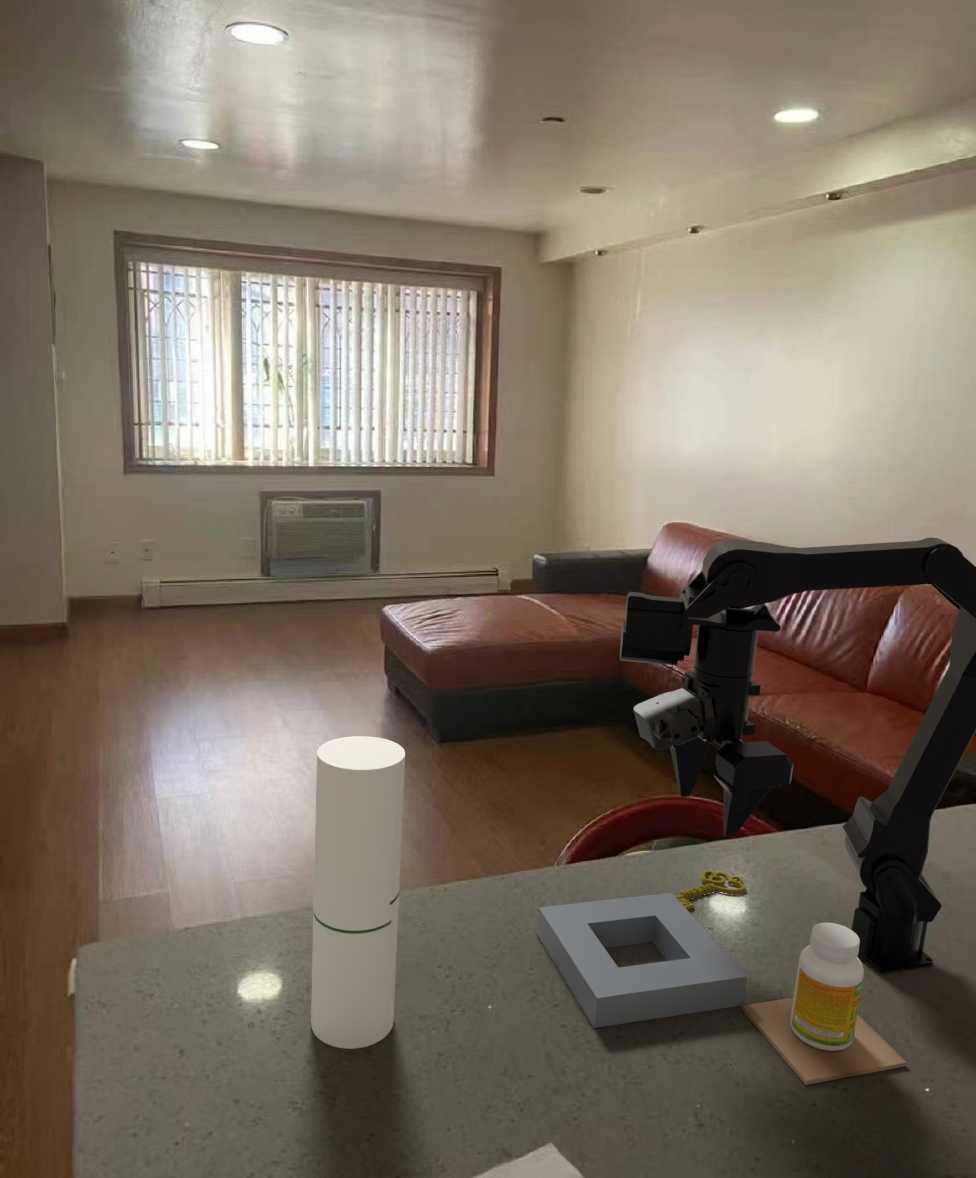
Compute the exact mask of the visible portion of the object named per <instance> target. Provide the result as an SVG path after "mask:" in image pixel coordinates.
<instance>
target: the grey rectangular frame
mask: <svg viewBox="0 0 976 1178" xmlns="http://www.w3.org/2000/svg"><path fill="white" fill-rule="evenodd" d="M675 896H676V895H674V894H673V892H666V893H664V892H663V893H657V894H649V895H640V896H630V897H629V896H628V897H619V898H612V899H602V900H593V901H584V902H576V903H575V902H574V903H568V904H567V903H566V904H565V903H564V904H557V905H550V906H549V905H548V906H540V907H538V912H537V925H536V935H537V937H538V939H539V940H540V941H541V943H542V945H543V947H544V948H545V949H546V952H547V953H548V955H549V956H550V958H551V959H552V961H553V963H554V965H555V966H556V968H557V970H558V971H559V973H560V974H561V976H562V978H563V979H564V981H565V983H566V985H567V986H568V988H569V989H570V991H571V992H572V994H573V996H574V997H575V999H576V1001H577V1002H578V1004H579V1006H580V1007H581V1009H582V1011H583V1012H584V1014H585V1016H586V1017H587V1019H588V1021H589V1022H590V1024H591V1025H592V1027H593V1028H594V1029H598V1028H602V1027H610V1026H617V1025H623V1024H629V1023H636V1022H643V1021H649V1020H654V1019H655V1020H656V1019H662V1018H668V1017H674V1016H675V1017H676V1016H681V1015H682V1016H683V1015H688V1014H696V1013H700V1012H709V1011H713V1010H715V1011H716V1010H719V1009H727V1008H733V1007H739V1006H740V1007H742V1005H745V1004H744V1002H745V997H746V988H747V979H748V976H747V975H746V974H745V973H744V971H743V970H742V969H741V968H740V967H739V966H738V965H737V964H736V962H735V961H734V960H733V959H732V958H731V957H730V956H729V955H728V954H727V953H726V951H725V950H724V949H723V948H722V947H721V946H720V945H719V944H718V943H717V942H716V941H715V939H714V938H713V937H712V936H711V935H710V934H709V932H707V931H706V929H705V928H704V927H703V926H702V925H701V924H700V922H698V921H697V920H696V918H695V917H694V916H693V915H692V913H691V912H690V911H689V910H687V909H686V908H685V907H684V906H683V905H682V904H681V903H680V902H679V900H678V899H677V898H676V897H675ZM646 943H653V944H654V946H655V947H656V948H657V949H658V951H659V952H660V953H661V954H662V955H663V957H664V959H666V961H665V960H664V961H659V962H658V961H657V962H651V963H644V964H643V963H642V964H637V965H627V966H620V967H619V966H618V965H617V964H616V962H615V961H614V959H613V958H612V957H611V955H610V954H609V952H608V951H607V950H606V948H614V947H621V946H623V947H624V946H630V945H638V944H646Z"/></svg>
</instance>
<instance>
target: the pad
mask: <svg viewBox="0 0 976 1178" xmlns="http://www.w3.org/2000/svg"><path fill="white" fill-rule="evenodd" d="M792 1003H793V997H788V998H783V999H776V1000H769V1001H768V1000H767V1001H763V1002H757V1003H756V1002H755V1003H748V1004H743V1005H741V1011H742V1012H743V1013H744V1014H745V1016H746V1017H747V1018H748V1019H749V1020H750V1021H751V1022H752V1024H753V1025H754V1026H755V1027H756V1029H758V1031H759V1032H760V1033H761V1034H762V1035H763V1036H764V1037H765V1039H766V1040H767V1042H769V1043H770V1045H771V1046H772V1047H773V1049H775V1051H776V1052H777V1053H778V1054H779V1055H780V1056H781V1058H782V1059H783V1060H784V1062H785V1063H786V1064H787V1065H788V1066H789V1067H790V1069H791V1070H792V1071H793V1072H794V1073H795V1074H796V1076H797V1077H798V1078H799V1079H800V1081H802V1082H803V1083H804V1085H805V1086H806V1085H813V1084H818V1083H822V1082H828V1081H834V1080H840V1079H845V1078H850V1077H856V1076H861V1075H868V1074H872V1073H877V1072H883V1071H887V1070H888V1071H889V1070H893V1069H899V1068H904V1067H906V1066H907V1061H906V1060H905V1059H904V1058H903V1057H902V1056H901V1055H900V1054H899V1053H898V1052H897V1051H896V1050H895V1049H894V1048H893V1047H891V1045H890V1044H888V1043H887V1041H886V1040H885V1039H883V1038H882V1037H881V1035H880V1034H879V1033H878V1032H876V1031H875V1030H874V1028H873V1027H872V1026H870V1025H869V1024H868V1023H867V1022H866V1021H865V1020H864V1019H863V1018H862V1017H861V1016H860V1015H859V1014H858V1013H857V1019H856V1025H855V1032H854V1037H853V1041H852V1043H851V1045H850V1046H849V1047H847V1048H846V1049H843V1050H839V1051H827V1050H821V1049H818V1048H815V1047H812V1046H810V1045H808V1044H807V1043H805V1042H803V1041H802V1040H801V1039H800V1038H798V1037H797V1036H796V1034H795V1033H794V1032H793V1030H792V1028H791V1024H790V1019H791V1010H792Z"/></svg>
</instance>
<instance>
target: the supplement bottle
mask: <svg viewBox="0 0 976 1178" xmlns="http://www.w3.org/2000/svg"><path fill="white" fill-rule="evenodd" d="M809 943H810V944H808V945H806V947H804V948H803V949H802V951H801V953H800V955H799V959H798V963H797V970H796V977H795V984H794V989H793V990H794V992H793V997H792V998H793V1003H792V1010H791V1019H790V1024H791V1028H792V1030H793V1032H794V1033H795V1034H796V1036H797V1037H798V1038H800V1039H801V1040H802V1041H803V1042H805V1043H807V1044H808V1045H810V1046H812V1047H815V1048H818V1049H821V1050H827V1051H839V1050H843V1049H846V1048H847V1047H849V1046H850V1045H851V1043H852V1041H853V1037H854V1032H855V1025H856V1019H857V1014H858V1012H859V1006H860V999H861V993H862V986H863V982H864V975H865V969H864V966H863V963H862V961H861V960H860V959H859V957H858V955H859V953H858V952H859V945H860V939H859V937H858V936H857V934H856V933H855V932H853V931H852V929H850V928H848V926H844V925H841V924H838V923H835V922H819V923H817V924H815V925H814V926H812V929H811V934H810V938H809Z"/></svg>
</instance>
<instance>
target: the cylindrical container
mask: <svg viewBox="0 0 976 1178" xmlns="http://www.w3.org/2000/svg"><path fill="white" fill-rule="evenodd" d="M405 768H406V750H405V749H404V747H403V746H401V744H399V743H397V742H395V741H392V740H390V739H387V738H383V737H377V736H367V735H366V736H365V735H354V736H352V735H351V736H344V737H338V738H335V739H331V740H329V741H326V742H324V743H322V744H321V745H320V746H319V747H318V749H317V750H316V781H315V782H316V789H315V790H316V791H315V827H314V828H315V830H314V831H315V832H314V833H315V834H314V864H313V865H314V868H313V869H314V873H313V876H314V878H313V905H312V906H313V914H312V915H313V916H312V920H313V921H312V957H311V958H312V960H311V1007H310V1010H311V1011H310V1027H311V1030H312V1032H313V1034H314V1035H315V1037H317V1039H318V1040H320V1041H321V1042H323V1043H325V1044H326V1045H328V1046H331V1047H335V1048H339V1049H349V1050H350V1049H353V1050H354V1049H360V1048H361V1049H362V1048H366V1047H370V1046H371V1045H375V1044H376V1043H378V1042H380V1041H382V1040H383V1039H384V1038H386V1037H387V1036H388V1035H389V1033H390V1032H391V1031H392V1029H393V1026H394V1025H393V1024H394V1022H395V1021H394V1017H395V1015H394V1014H395V997H396V993H395V992H396V973H397V972H396V971H397V969H396V968H397V951H398V950H397V949H398V948H397V947H398V929H399V926H398V924H399V904H400V884H401V883H400V881H401V860H402V859H401V858H402V857H401V856H402V839H403V836H402V834H403V833H402V830H403V813H404V812H403V810H404V792H405V791H404V790H405V772H406V771H405Z"/></svg>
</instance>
